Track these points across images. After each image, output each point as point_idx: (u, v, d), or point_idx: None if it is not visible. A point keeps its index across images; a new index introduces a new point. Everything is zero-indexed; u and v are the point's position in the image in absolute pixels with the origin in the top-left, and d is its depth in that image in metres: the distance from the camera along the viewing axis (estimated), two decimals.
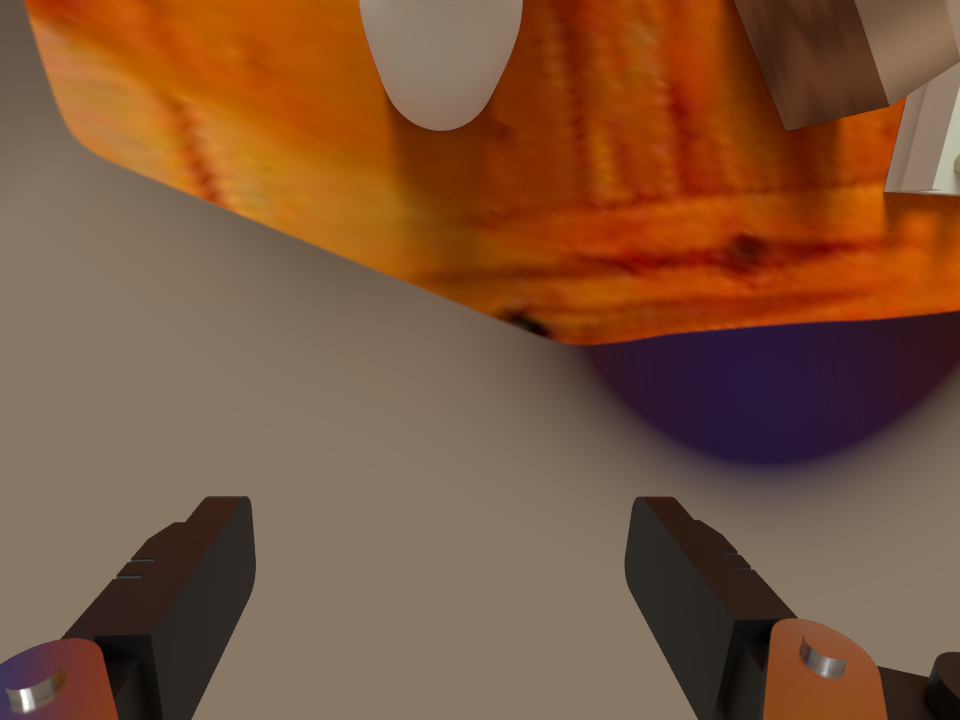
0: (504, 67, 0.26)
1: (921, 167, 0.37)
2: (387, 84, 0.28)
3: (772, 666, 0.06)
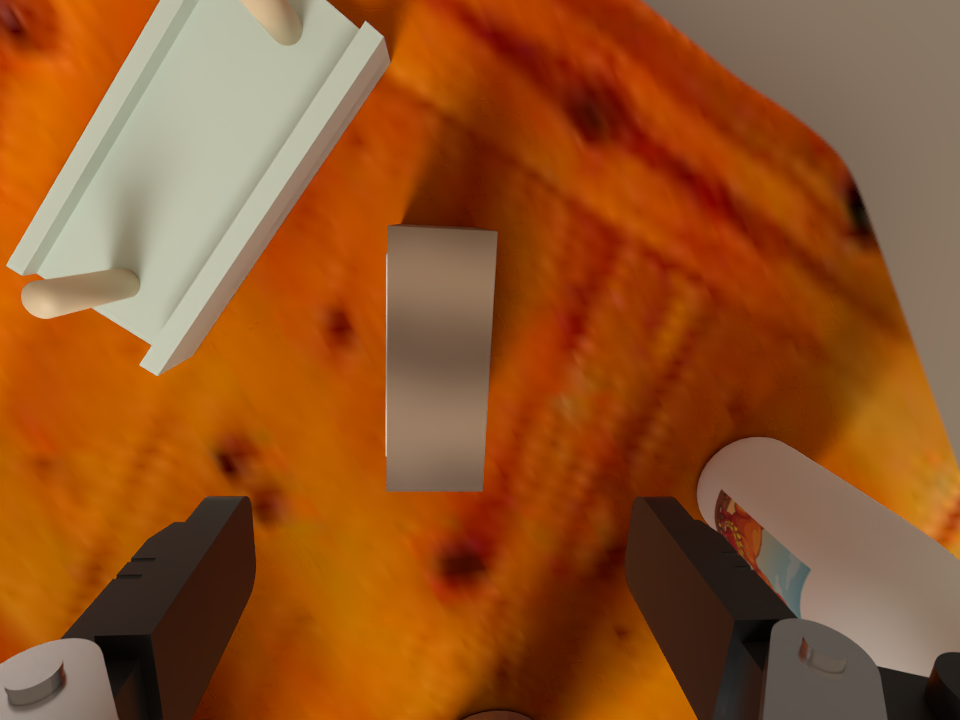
0: (836, 513, 0.26)
1: (367, 73, 0.25)
2: None
3: (772, 666, 0.06)
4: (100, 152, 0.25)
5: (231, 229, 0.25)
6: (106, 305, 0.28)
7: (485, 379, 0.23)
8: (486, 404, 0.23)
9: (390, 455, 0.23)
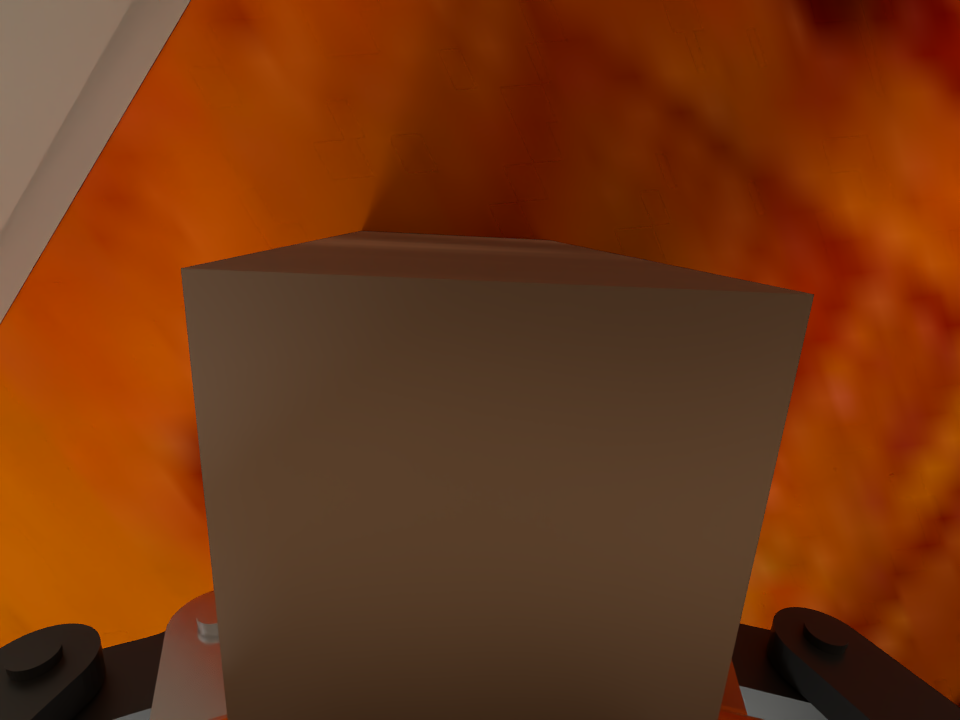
0: None
1: None
2: None
3: None
4: None
5: None
6: None
7: None
8: None
9: None
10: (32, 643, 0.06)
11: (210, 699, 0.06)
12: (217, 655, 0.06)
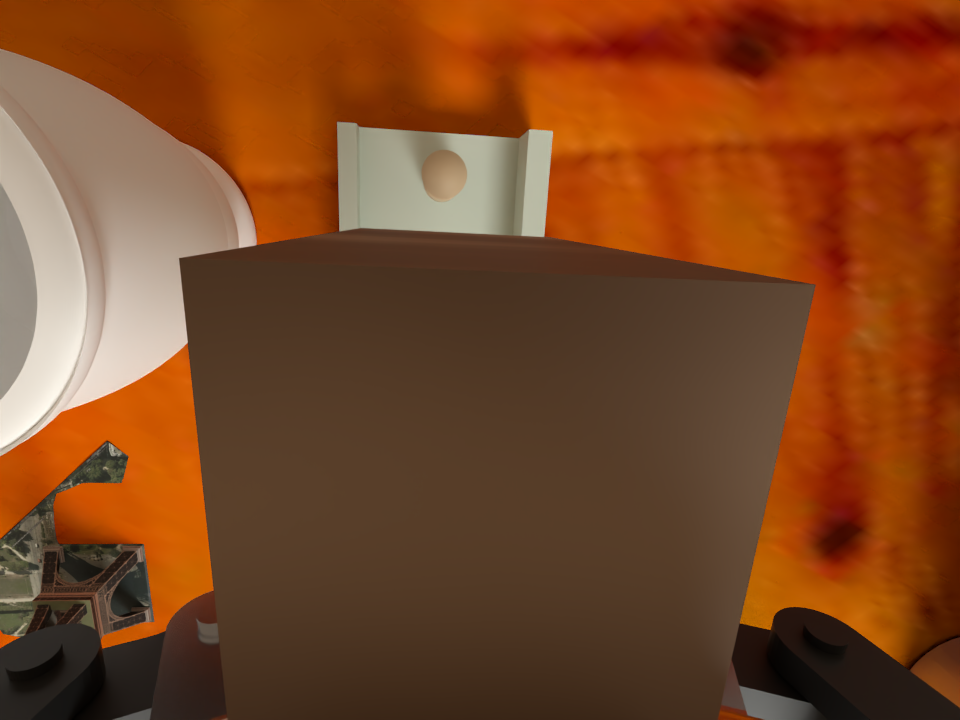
0: None
1: None
2: None
3: None
4: None
5: None
6: None
7: None
8: None
9: None
10: (32, 643, 0.06)
11: (210, 700, 0.06)
12: (217, 655, 0.06)
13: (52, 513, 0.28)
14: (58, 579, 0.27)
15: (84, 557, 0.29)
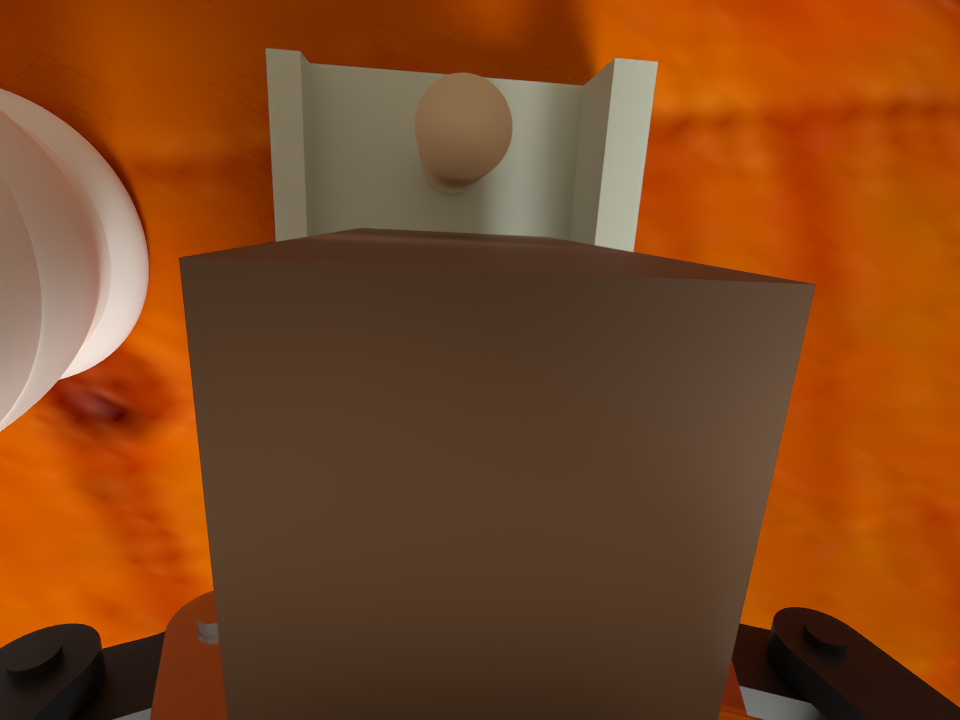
0: None
1: None
2: None
3: None
4: None
5: None
6: None
7: None
8: None
9: None
10: (31, 644, 0.06)
11: (210, 699, 0.06)
12: (217, 655, 0.06)
13: None
14: None
15: None
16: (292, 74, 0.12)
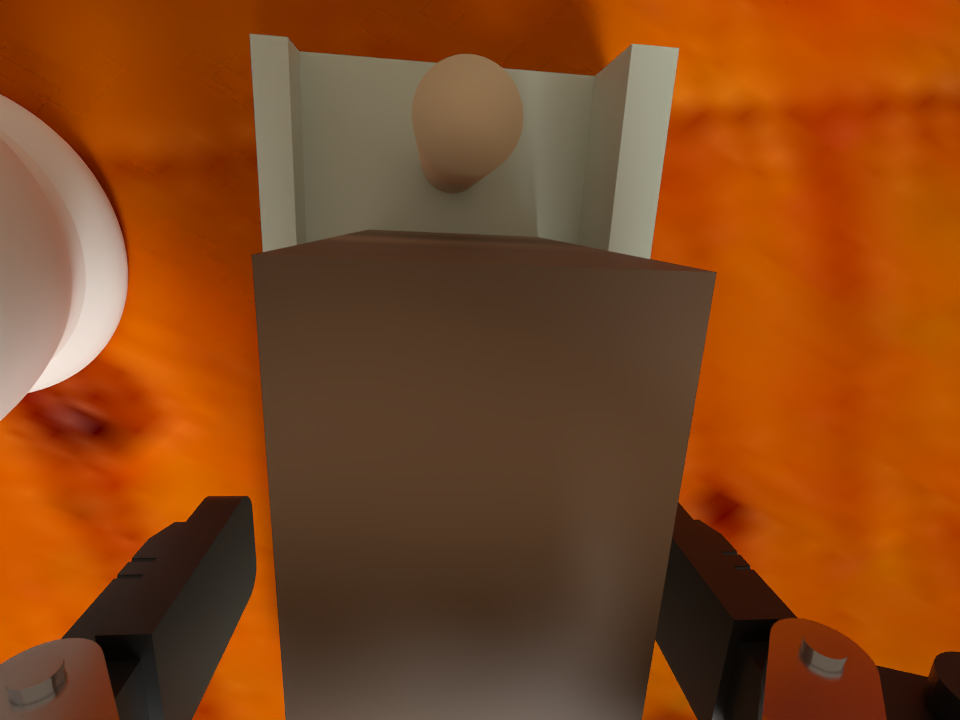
0: None
1: None
2: None
3: (772, 665, 0.06)
4: None
5: None
6: None
7: None
8: None
9: None
10: None
11: None
12: None
13: None
14: None
15: None
16: (279, 62, 0.11)
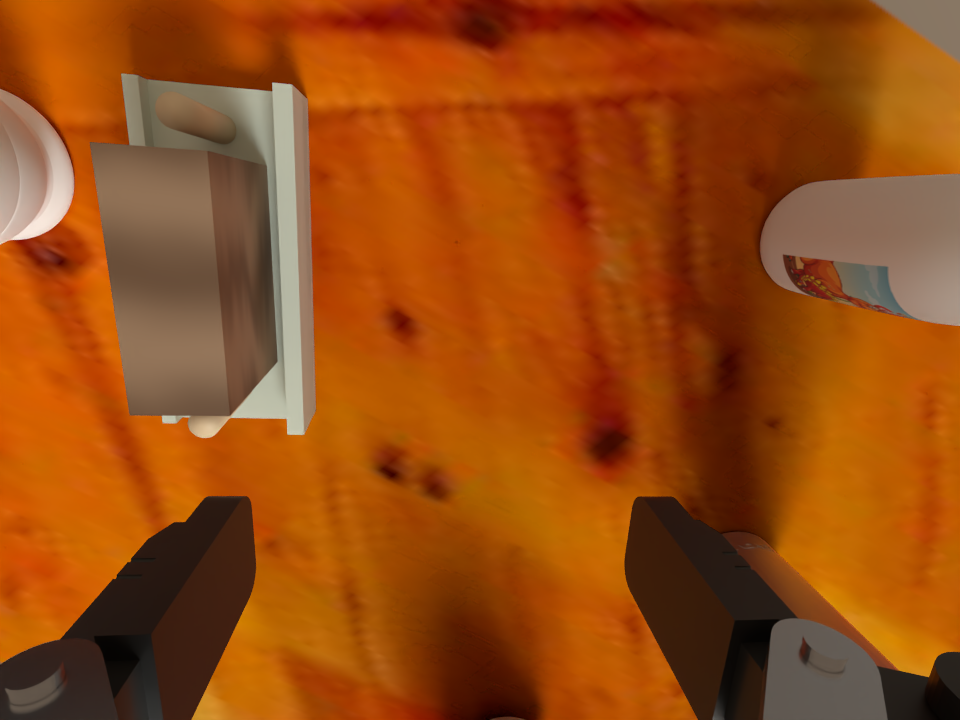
0: (886, 208, 0.27)
1: (298, 120, 0.28)
2: None
3: (772, 666, 0.06)
4: None
5: (283, 300, 0.30)
6: (239, 409, 0.34)
7: (216, 302, 0.23)
8: (221, 328, 0.23)
9: (128, 378, 0.24)
10: None
11: None
12: None
13: None
14: None
15: None
16: (134, 85, 0.27)
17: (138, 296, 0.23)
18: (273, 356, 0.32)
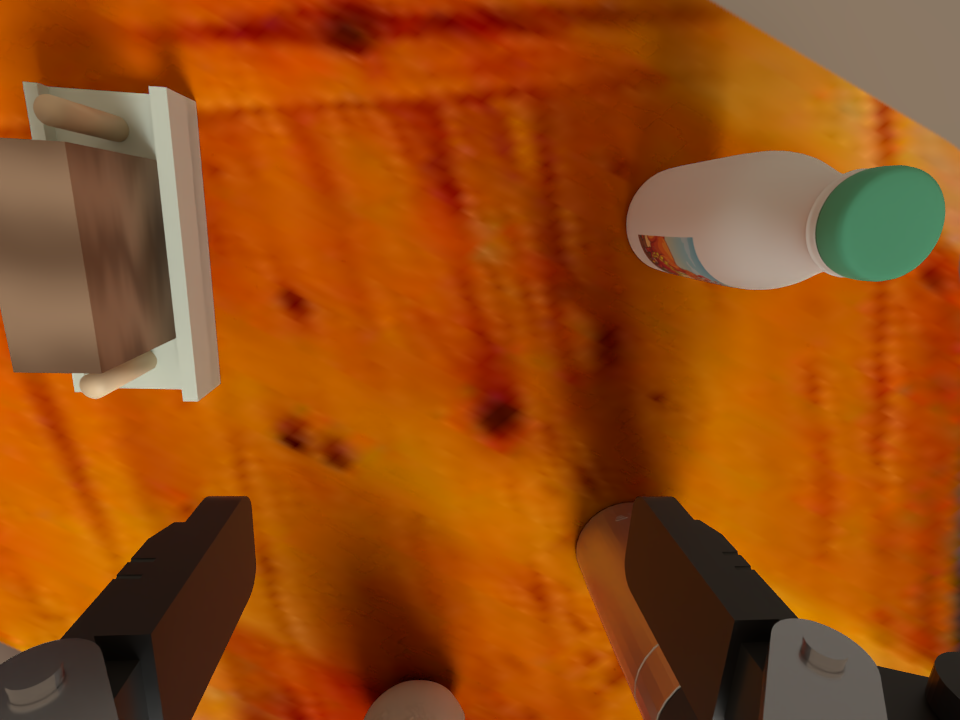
0: (694, 185, 0.30)
1: (179, 119, 0.32)
2: None
3: (772, 666, 0.06)
4: None
5: (171, 278, 0.34)
6: (146, 381, 0.38)
7: (82, 272, 0.27)
8: (87, 294, 0.27)
9: (10, 339, 0.28)
10: None
11: None
12: None
13: None
14: None
15: None
16: (34, 91, 0.31)
17: (14, 267, 0.27)
18: (171, 331, 0.36)
